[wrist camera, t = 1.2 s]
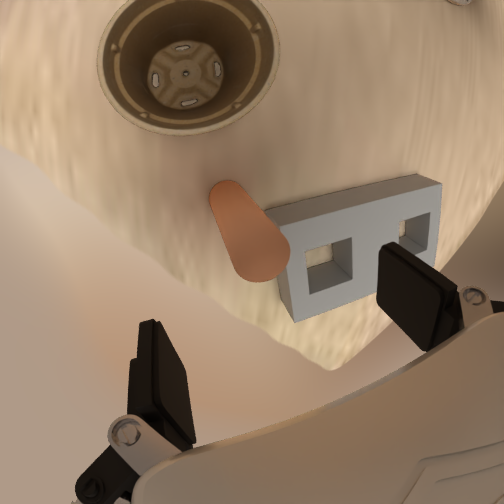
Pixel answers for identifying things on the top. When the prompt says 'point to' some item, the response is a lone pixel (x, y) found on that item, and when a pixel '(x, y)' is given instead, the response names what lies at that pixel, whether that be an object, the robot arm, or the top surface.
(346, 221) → the socket block
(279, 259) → the peg
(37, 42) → the top surface
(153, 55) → the flower pot
